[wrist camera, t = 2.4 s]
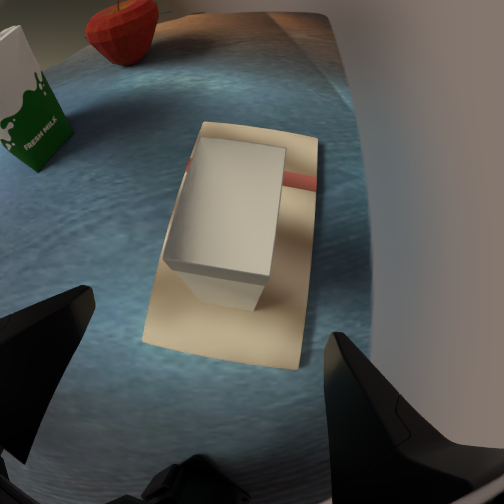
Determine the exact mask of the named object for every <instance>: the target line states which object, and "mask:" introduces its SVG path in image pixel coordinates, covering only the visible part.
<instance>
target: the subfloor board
mask: <svg viewBox="0 0 504 504" xmlns="http://www.w3.org/2000/svg"><path fill="white" fill-rule="evenodd" d="M200 136H202V137H213V138H222V139H231V140H239V141H246V142H254V143H260V144H267V145H273V146H279V147H285V148H287V151H286V159H285V168H284V177H283V185H282V193H281V201H280V209H279V217H278V225H277V232H276V240H275V247H274V255H273V262H272V269H271V277H270V279H269V281H268V283H267V285H266V286H264V289H263V291H262V293H261V295H260V297H259V300H258V302H257V304H256V306H255V309H254V311H249V310H243V309H237V308H231V307H225V306H219V305H214V304H208V303H203V302H200V301H199V299H198V298H197V297H196V296H195V295H194V294H193V293H192V291H191V290H190V289H189V288H188V287H187V285H186V284H185V283H184V282H183V281H182V280H181V278H180V277H179V276H178V275H177V274H176V272H175V271H174V270H171V269H170V268H169V266H168V265H167V264H166V263H165V262H164V261H163V259H162V257H163V253H164V249H165V245H166V242H167V238H168V234H169V231H170V227H171V223H172V220H173V217H174V213H175V210H176V206H177V203H178V200H179V196H180V193H181V190H182V187H183V184H184V181H185V178H186V175H187V172H188V169H189V166H190V163H191V160H192V157H193V154H194V151H195V148H196V146H197V143H198V140H199V137H200ZM317 151H318V138H314V137H309V136H304V135H299V134H294V133H288V132H283V131H277V130H270V129H264V128H257V127H250V126H242V125H234V124H225V123H214V122H203V125H202V127H201V130H200V132H199V135H198V138H197V141H196V143H195V146H194V149H193V152H192V154H191V157H190V159H189V162H188V165H187V168H186V171H185V175H184V178H183V181H182V184H181V187H180V190H179V193H178V196H177V200H176V203H175V206H174V209H173V213H172V216H171V220H170V223H169V227H168V230H167V234H166V237H165V241H164V245H163V249H162V252H161V256H160V260H159V264H158V268H157V272H156V276H155V281H154V285H153V289H152V294H151V298H150V303H149V308H148V313H147V317H146V323H145V328H144V333H143V338H142V342H145V343H148V344H152V345H156V346H160V347H164V348H168V349H173V350H177V351H181V352H186V353H191V354H195V355H200V356H205V357H211V358H216V359H221V360H227V361H233V362H239V363H246V364H253V365H260V366H267V367H275V368H284V369H294V370H298V367H299V360H300V353H301V346H302V339H303V332H304V324H305V316H306V307H307V299H308V289H309V280H310V269H311V258H312V246H313V233H314V219H315V202H316V187H317Z"/></svg>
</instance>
